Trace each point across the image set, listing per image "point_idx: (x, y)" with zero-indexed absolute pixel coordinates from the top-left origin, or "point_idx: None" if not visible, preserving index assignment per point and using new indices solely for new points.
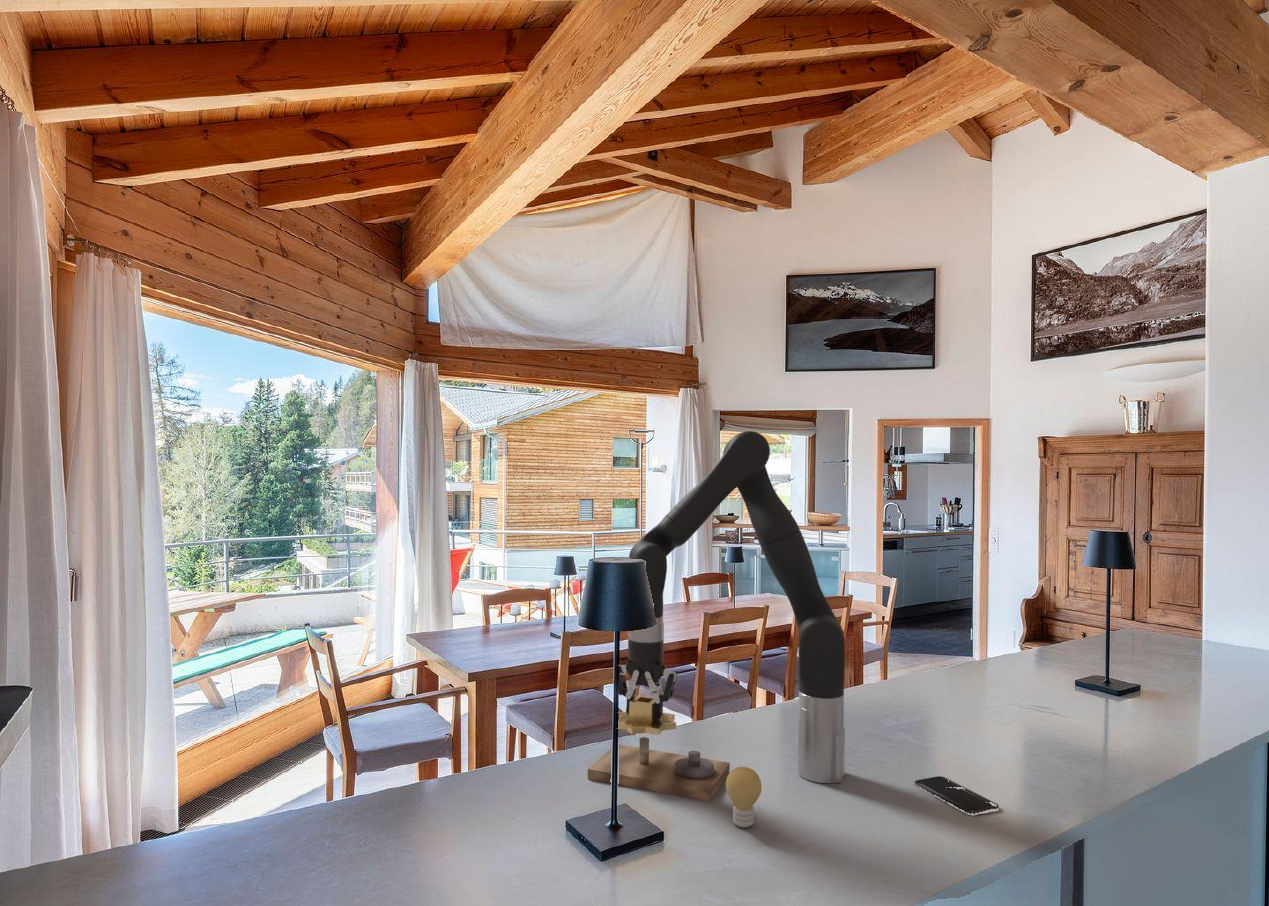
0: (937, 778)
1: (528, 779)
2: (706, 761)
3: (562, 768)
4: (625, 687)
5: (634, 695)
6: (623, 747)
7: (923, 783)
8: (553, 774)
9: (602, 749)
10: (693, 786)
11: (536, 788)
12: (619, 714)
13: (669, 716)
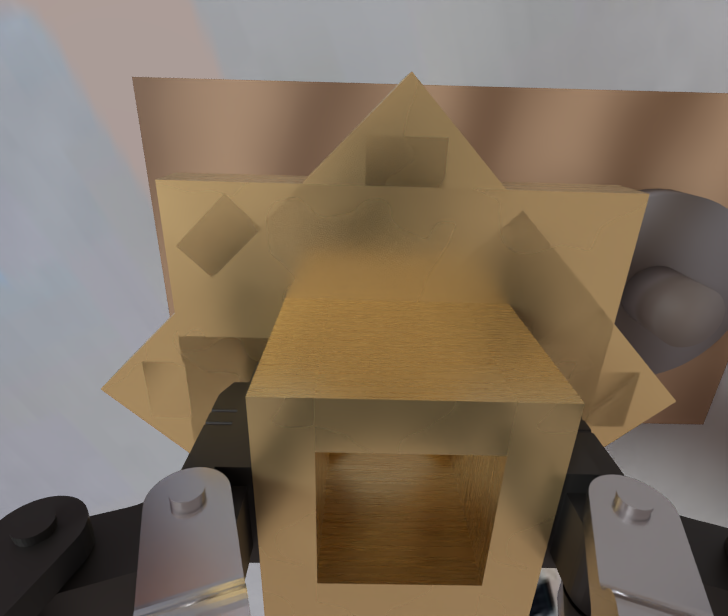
0: None
1: (20, 460)
2: (717, 229)
3: (52, 343)
4: (39, 591)
5: (239, 508)
6: (195, 112)
7: None
8: (63, 400)
9: (56, 53)
10: None
11: (93, 500)
12: (162, 400)
13: (603, 279)
